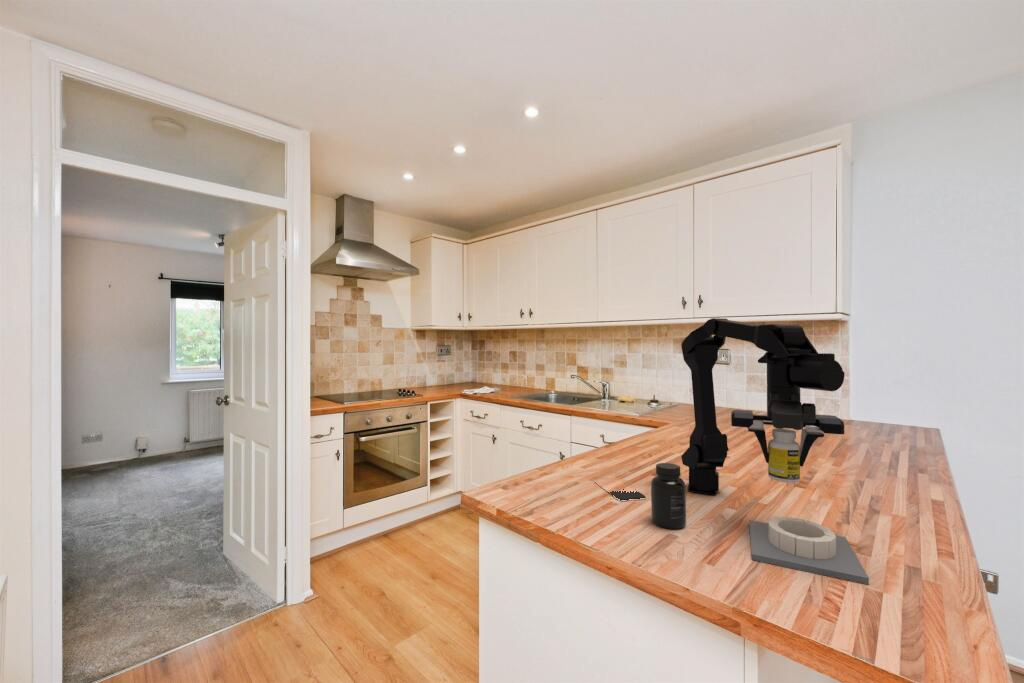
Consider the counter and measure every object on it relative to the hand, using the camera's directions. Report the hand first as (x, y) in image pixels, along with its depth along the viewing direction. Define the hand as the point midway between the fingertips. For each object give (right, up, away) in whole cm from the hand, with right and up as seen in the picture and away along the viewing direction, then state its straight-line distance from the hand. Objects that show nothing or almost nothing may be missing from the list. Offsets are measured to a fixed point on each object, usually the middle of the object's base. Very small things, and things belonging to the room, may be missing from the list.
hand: (783, 464), depth 85 cm
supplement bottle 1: (-22, -14, +4) cm, 26 cm away
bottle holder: (-2, -14, -8) cm, 16 cm away
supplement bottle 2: (0, -3, 0) cm, 3 cm away
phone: (-27, -14, +23) cm, 39 cm away
